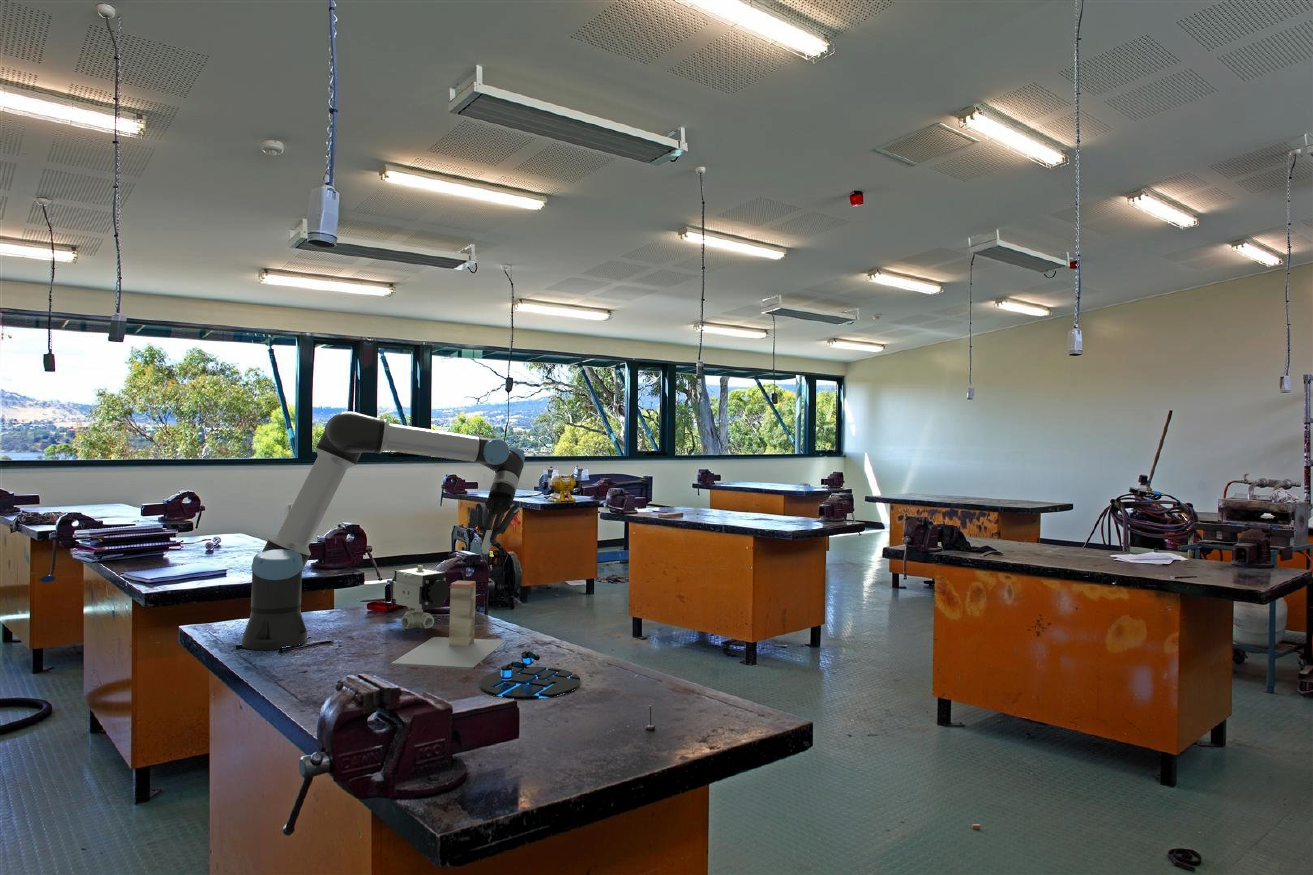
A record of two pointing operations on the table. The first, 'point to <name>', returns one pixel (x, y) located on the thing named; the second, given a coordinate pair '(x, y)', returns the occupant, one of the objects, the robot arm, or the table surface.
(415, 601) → the ball valve
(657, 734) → the table surface
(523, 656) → the platform
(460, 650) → the rubber mat
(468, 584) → the birch block
